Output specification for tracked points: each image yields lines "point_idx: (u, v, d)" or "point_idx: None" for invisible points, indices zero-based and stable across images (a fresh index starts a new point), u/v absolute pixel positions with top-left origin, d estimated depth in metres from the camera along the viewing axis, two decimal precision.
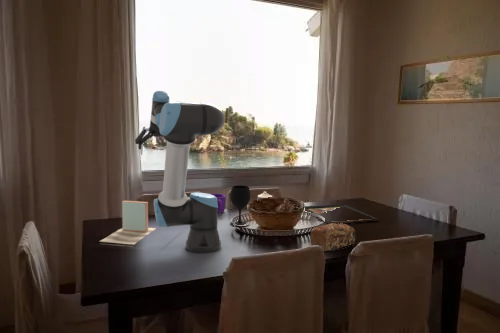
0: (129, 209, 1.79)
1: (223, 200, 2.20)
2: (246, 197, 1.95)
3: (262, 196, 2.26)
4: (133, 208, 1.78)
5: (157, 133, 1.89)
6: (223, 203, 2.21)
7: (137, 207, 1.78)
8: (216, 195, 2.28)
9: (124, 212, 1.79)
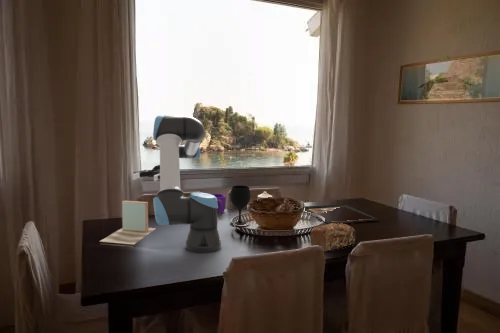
0: (129, 209, 1.79)
1: (223, 200, 2.20)
2: (246, 197, 1.95)
3: (262, 196, 2.26)
4: (133, 208, 1.78)
5: (155, 171, 2.02)
6: (223, 203, 2.21)
7: (137, 207, 1.78)
8: (216, 195, 2.28)
9: (124, 212, 1.79)
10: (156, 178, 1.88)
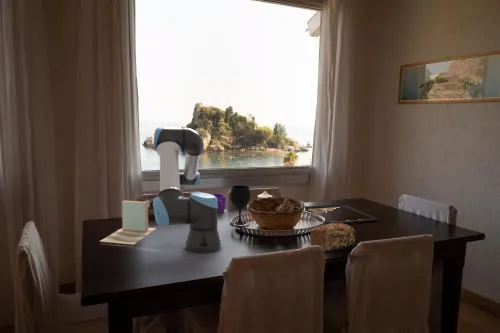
0: (129, 209, 1.79)
1: (223, 200, 2.20)
2: (246, 197, 1.95)
3: (262, 196, 2.26)
4: (133, 208, 1.78)
5: None
6: (223, 203, 2.21)
7: (137, 207, 1.78)
8: (216, 195, 2.28)
9: (124, 212, 1.79)
10: None
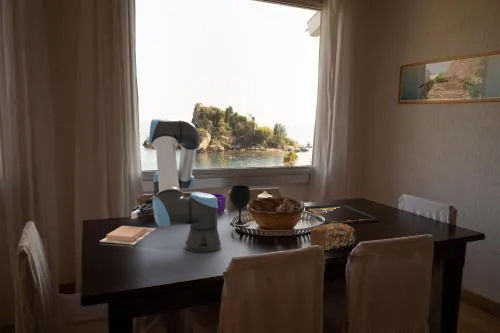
0: None
1: (223, 200, 2.20)
2: (246, 197, 1.95)
3: (262, 196, 2.26)
4: None
5: None
6: (223, 203, 2.21)
7: None
8: (216, 195, 2.28)
9: None
10: (135, 215, 1.80)
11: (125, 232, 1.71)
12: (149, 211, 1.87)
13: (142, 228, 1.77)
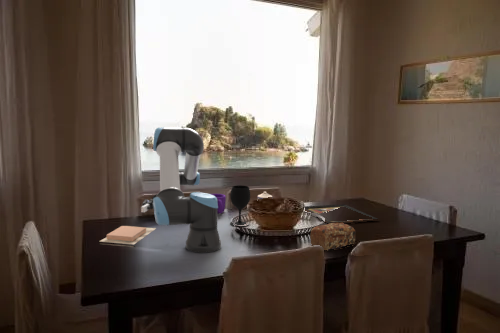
0: None
1: (223, 200, 2.20)
2: (246, 197, 1.95)
3: (262, 196, 2.26)
4: None
5: None
6: (223, 203, 2.21)
7: None
8: (216, 195, 2.28)
9: None
10: (145, 209, 1.90)
11: (125, 232, 1.71)
12: None
13: (142, 228, 1.77)
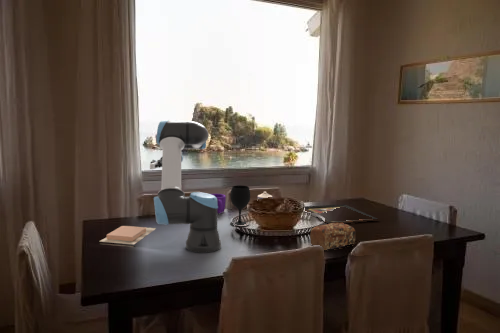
0: None
1: (223, 200, 2.20)
2: (246, 197, 1.95)
3: (262, 196, 2.26)
4: None
5: None
6: (223, 203, 2.21)
7: None
8: (216, 195, 2.28)
9: None
10: (153, 166, 1.93)
11: (125, 232, 1.71)
12: None
13: (142, 228, 1.77)
